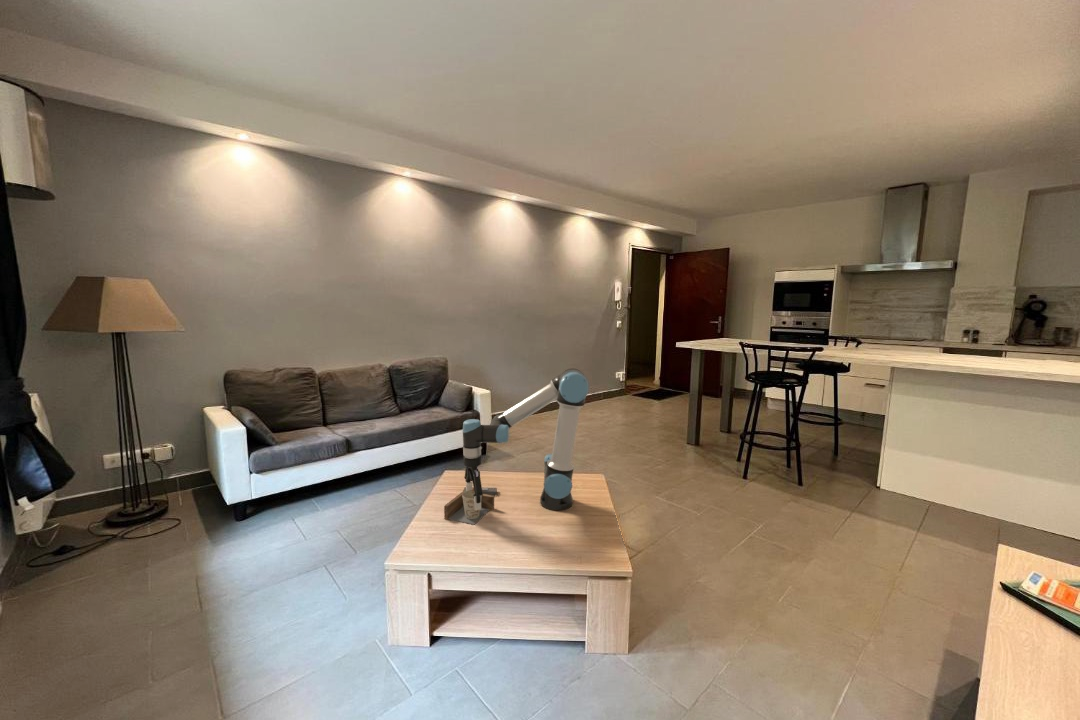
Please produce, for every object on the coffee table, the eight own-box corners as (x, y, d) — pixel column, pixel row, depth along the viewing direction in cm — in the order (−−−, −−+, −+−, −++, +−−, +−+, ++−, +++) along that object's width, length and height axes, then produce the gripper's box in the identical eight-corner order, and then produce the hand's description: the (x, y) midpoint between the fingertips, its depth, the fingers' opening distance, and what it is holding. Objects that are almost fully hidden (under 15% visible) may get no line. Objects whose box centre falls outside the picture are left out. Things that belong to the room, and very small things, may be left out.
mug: (459, 519, 181) (459, 497, 180) (469, 506, 193) (469, 485, 192) (478, 521, 180) (478, 499, 178) (487, 507, 192) (487, 486, 191)
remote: (497, 491, 210) (496, 486, 209) (495, 495, 205) (495, 490, 205) (464, 491, 210) (464, 486, 210) (463, 495, 206) (462, 490, 205)
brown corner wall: (494, 508, 192) (494, 495, 191) (476, 525, 177) (476, 512, 176) (464, 502, 198) (464, 490, 197) (444, 519, 182) (444, 505, 182)
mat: (490, 509, 191) (490, 508, 191) (474, 524, 178) (474, 524, 178) (465, 504, 195) (465, 504, 195) (448, 519, 182) (448, 518, 182)
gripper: (489, 464, 172) (490, 513, 175) (473, 445, 195) (474, 489, 197) (471, 467, 169) (472, 517, 172) (456, 448, 192) (458, 492, 194)
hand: (473, 502), depth 185 cm, fingers open, 13 cm apart
